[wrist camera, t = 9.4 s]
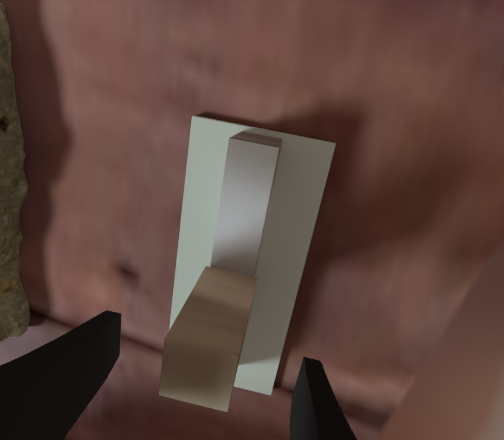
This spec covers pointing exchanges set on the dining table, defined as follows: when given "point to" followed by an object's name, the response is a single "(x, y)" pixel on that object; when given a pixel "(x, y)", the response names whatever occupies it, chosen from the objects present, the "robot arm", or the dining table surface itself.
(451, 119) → the dining table surface
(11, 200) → the decorative tile
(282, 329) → the mat
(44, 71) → the dining table surface
